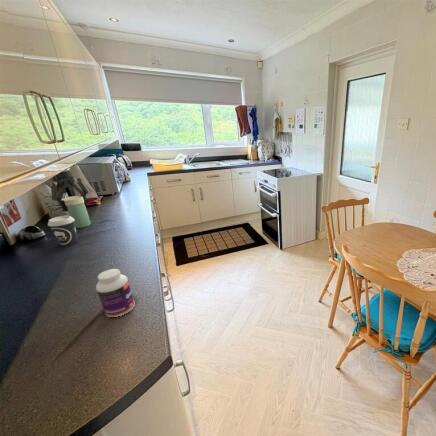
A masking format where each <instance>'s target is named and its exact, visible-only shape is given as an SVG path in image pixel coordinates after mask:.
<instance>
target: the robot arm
mask: <svg viewBox="0 0 436 436" xmlns="http://www.w3.org/2000/svg"><path fill="white" fill-rule="evenodd" d="M54 179H55V181H53V182H49V186H50V189H51V190H50V192H51V200H52V201H55V202H57V204H58V206H59V207H61V209H62V211H63V212H65V213H66V212H67V211H68V210H67V208H66V205H65V203H64V200H62V199H63V198H64V197H63V196H64V193H65V190H66V189H67V188H70V187H71V188H73V189H74V190H75V191H76V192H77V193H78V194H79V196H82V197H83V199H84V204H85V207H88V204H87V199H88V198H87V195H88V194H89V191H88V189H87V188H86V186H85V185H84V183H83V181H82V179H81V178H80V177H76V178H74V175H73V171H72V170H71V167H70V168H68V169H67V170H65V171H63V172H61V173H60V174H58V175H56V176H54ZM75 183H76V184H75ZM77 185H78V186H77ZM57 186H58V188H57Z"/></svg>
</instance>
